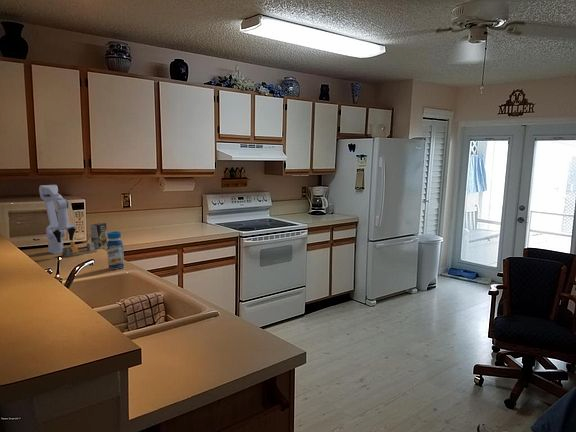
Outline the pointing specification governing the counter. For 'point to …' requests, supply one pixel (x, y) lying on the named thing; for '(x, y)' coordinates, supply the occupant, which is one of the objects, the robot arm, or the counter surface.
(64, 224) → the robot arm
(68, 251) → the cord board
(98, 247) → the coffee box
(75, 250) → the marker sleeve
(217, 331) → the counter surface
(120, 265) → the blue pill bottle
